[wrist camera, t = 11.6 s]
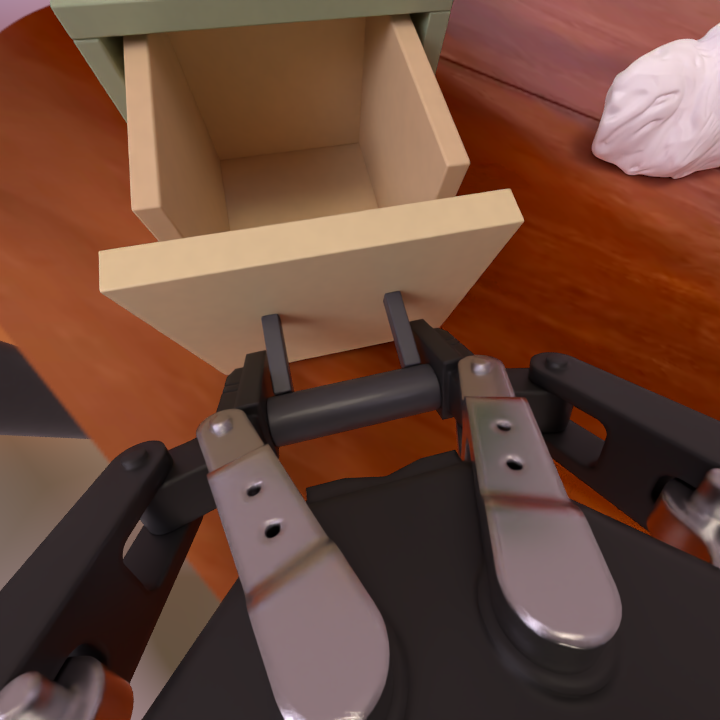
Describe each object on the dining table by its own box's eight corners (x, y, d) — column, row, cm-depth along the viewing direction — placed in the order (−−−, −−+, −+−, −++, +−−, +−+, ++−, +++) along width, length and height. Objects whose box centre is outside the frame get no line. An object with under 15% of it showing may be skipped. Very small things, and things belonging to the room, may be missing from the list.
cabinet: (401, 211, 21) (459, -22, 10) (203, 242, 19) (48, 5, 9) (351, 58, 24) (359, -222, 14) (184, 74, 23) (59, -226, 13)
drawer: (460, 410, 16) (590, 366, 8) (237, 463, 15) (100, 480, 6) (376, 147, 21) (401, -59, 12) (200, 169, 20) (93, -44, 11)
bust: (688, 178, 26) (813, -32, 19) (790, 192, 20) (1026, -109, 13) (547, 165, 25) (626, -54, 19) (607, 175, 19) (756, -146, 13)
